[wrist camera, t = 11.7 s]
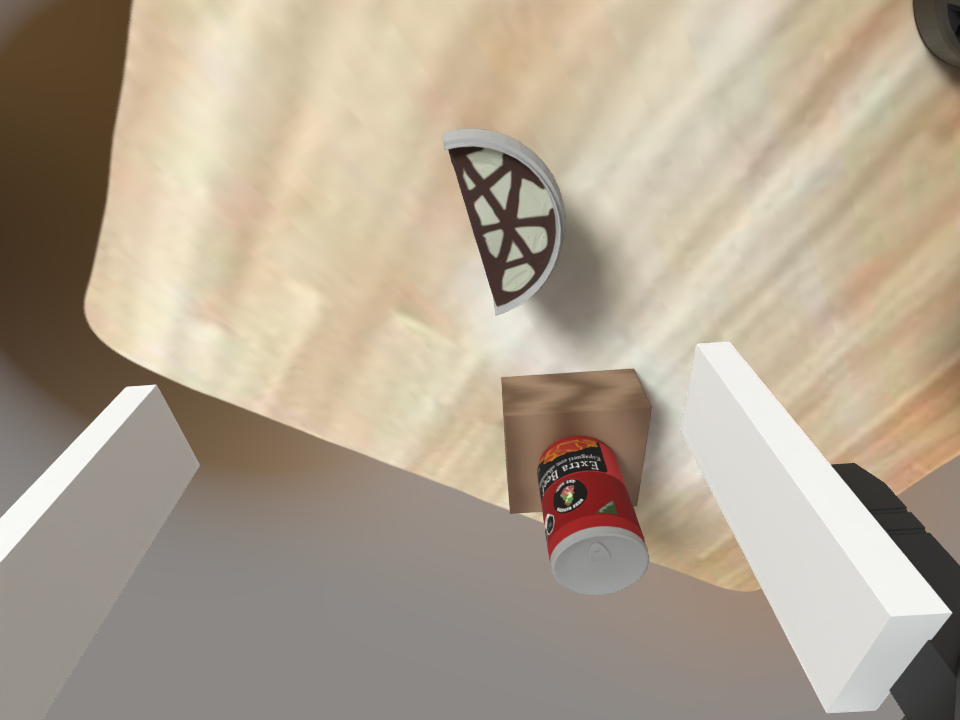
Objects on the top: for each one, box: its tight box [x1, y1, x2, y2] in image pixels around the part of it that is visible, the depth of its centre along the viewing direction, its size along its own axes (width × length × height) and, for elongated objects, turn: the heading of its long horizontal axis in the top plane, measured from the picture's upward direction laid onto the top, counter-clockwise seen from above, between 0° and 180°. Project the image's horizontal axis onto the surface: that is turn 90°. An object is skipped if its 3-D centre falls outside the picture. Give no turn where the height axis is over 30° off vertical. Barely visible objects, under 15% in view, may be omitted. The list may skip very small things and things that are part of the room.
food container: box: [443, 129, 565, 315], centre depth 36 cm, size 12×6×10 cm, turn 16°
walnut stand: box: [501, 369, 652, 514], centre depth 51 cm, size 13×13×6 cm
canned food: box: [537, 436, 649, 595], centre depth 44 cm, size 8×8×11 cm
